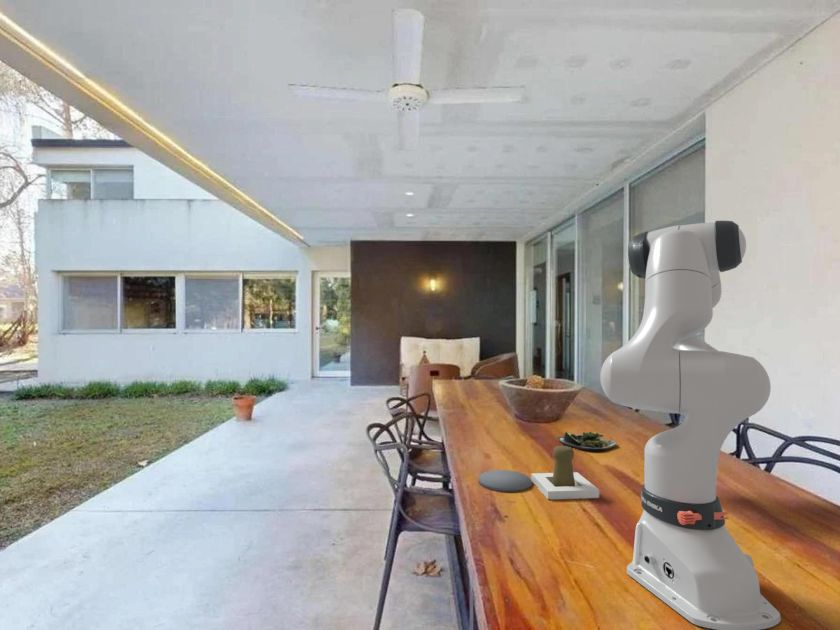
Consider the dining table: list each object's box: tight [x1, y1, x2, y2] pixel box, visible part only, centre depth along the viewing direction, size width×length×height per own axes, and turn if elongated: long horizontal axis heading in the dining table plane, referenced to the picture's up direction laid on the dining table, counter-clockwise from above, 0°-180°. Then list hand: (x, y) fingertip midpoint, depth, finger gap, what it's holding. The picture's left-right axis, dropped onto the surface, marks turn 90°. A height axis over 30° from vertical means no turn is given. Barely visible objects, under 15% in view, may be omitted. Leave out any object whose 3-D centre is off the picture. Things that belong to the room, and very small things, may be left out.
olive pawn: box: [552, 445, 575, 487], centre depth 121 cm, size 6×6×11 cm
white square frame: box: [530, 471, 600, 500], centre depth 121 cm, size 13×13×2 cm
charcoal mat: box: [478, 469, 532, 493], centre depth 126 cm, size 14×14×1 cm
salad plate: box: [555, 431, 617, 453], centre depth 164 cm, size 19×18×5 cm
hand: (620, 398), depth 122 cm, fingers open, 8 cm apart
